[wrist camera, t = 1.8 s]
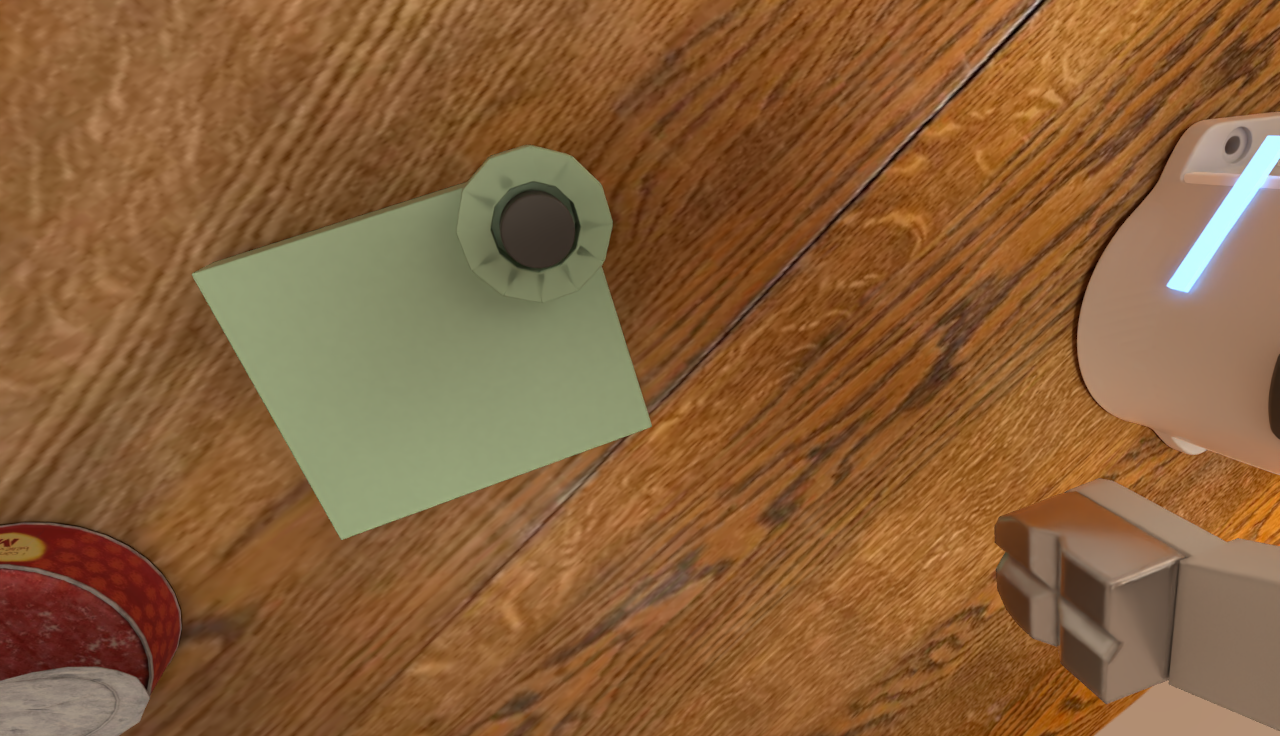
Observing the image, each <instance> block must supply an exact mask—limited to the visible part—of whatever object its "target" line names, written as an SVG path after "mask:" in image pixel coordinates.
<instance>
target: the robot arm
mask: <svg viewBox="0 0 1280 736" xmlns="http://www.w3.org/2000/svg"><path fill="white" fill-rule="evenodd" d="M1077 353H1078V361H1079V366H1080V371H1081V374H1082V377H1083V380H1084V382H1085V384H1086V387H1087V388H1088V390H1089V392H1090V394H1091V395H1092V397H1093V398H1094V399H1095V400H1096V402H1097V403H1098V404H1099V405H1100V406H1101V407H1102V408H1103V409H1105V410H1106V411H1107V412H1109V413H1110V414H1112V415H1114V416H1115V417H1118V418H1120V419H1122V420H1125V421H1128V422H1132V423H1136V424H1140V425H1143V426H1147V427H1149V428H1151V429H1153V430H1154V431H1155V433H1156V434H1157V435H1158V436H1159V437H1160V438H1161V440H1162V441H1163V442H1164V443H1165V444H1166V445H1168V446H1169V447H1170V448H1172V449H1175V450H1178V451H1181V452H1183V453H1186V454H1189V455H1197V454H1200V453H1202V452H1204V451H1206V450H1210V451H1212V452H1215V453H1218V454H1221V455H1224V456H1227V457H1229V458H1232V459H1235V460H1238V461H1241V462H1243V463H1246V464H1249V465H1252V466H1255V467H1257V468H1260V469H1263V470H1266V471H1269V472H1272V473H1275V474H1278V475H1280V111H1278V112H1269V113H1260V114H1251V115H1243V116H1234V117H1225V118H1216V119H1208V120H1202V121H1199V122H1197V123H1195V124H1193V125H1192V126H1190V127H1189V128H1188V129H1187V130H1186V131H1185V133H1184V134H1183V135H1182V137H1181V138H1180V140H1179V141H1178V143H1177V145H1176V146H1175V148H1174V150H1173V152H1172V154H1171V156H1170V158H1169V160H1168V162H1167V164H1166V166H1165V168H1164V170H1163V172H1162V174H1161V176H1160V179H1159V181H1158V183H1157V184H1156V185H1155V187H1154V188H1153V190H1152V191H1151V192H1150V193H1149V195H1148V196H1147V197H1146V198H1145V199H1144V200H1143V202H1142V203H1141V204H1140V205H1139V206H1138V207H1137V208H1136V209H1135V210H1134V212H1133V213H1132V214H1131V215H1130V216H1129V217H1128V218H1127V219H1126V221H1125V222H1124V223H1123V224H1122V226H1121V227H1120V228H1119V229H1118V231H1117V232H1116V234H1115V235H1114V236H1113V238H1112V239H1111V241H1110V242H1109V244H1108V245H1107V247H1106V249H1105V250H1104V252H1103V254H1102V255H1101V257H1100V259H1099V261H1098V263H1097V265H1096V267H1095V269H1094V271H1093V274H1092V276H1091V278H1090V281H1089V283H1088V286H1087V289H1086V292H1085V295H1084V298H1083V302H1082V306H1081V310H1080V315H1079V322H1078V330H1077ZM995 543H996V544H997V545H998V546H999V547H1000V548H1001V549H1003V550H1004V551H1005V554H1004V555H1003V557H1002V559H1001V561H1000V563H999V565H998V566H997V568H996V578H997V589H998V592H999V594H1000V596H1001V599H1002V601H1003V603H1004V605H1005V607H1006V610H1007V611H1008V612H1009V614H1010V615H1011V616H1012V618H1013V619H1014V620H1015V622H1016V623H1017V624H1018V625H1019V626H1020V627H1021V628H1022V629H1023V630H1024V631H1025V632H1026V633H1027V634H1029V635H1030V636H1031V637H1032V638H1033V639H1036V640H1039V641H1042V642H1045V643H1048V644H1051V645H1054V646H1057V648H1058V653H1059V658H1060V662H1061V664H1062V665H1063V666H1064V667H1065V668H1066V669H1067V670H1068V671H1070V672H1071V673H1072V674H1073V675H1074V676H1075V677H1076V678H1077V679H1079V680H1080V681H1081V682H1082V683H1083V684H1084V685H1085V686H1086V687H1088V688H1089V689H1090V690H1091V691H1092V692H1093V693H1094V694H1095V695H1097V696H1098V697H1099V698H1100V699H1101V700H1102V701H1103V702H1104V703H1106V704H1108V703H1110V702H1113V701H1115V700H1118V699H1121V698H1123V697H1126V696H1128V695H1131V694H1134V693H1136V692H1139V691H1141V690H1144V689H1146V688H1149V687H1152V686H1154V685H1157V684H1159V683H1162V682H1165V681H1167V680H1169V684H1170V685H1172V686H1174V687H1176V688H1179V689H1181V690H1184V691H1186V692H1188V693H1191V694H1193V695H1195V696H1198V697H1200V698H1203V699H1205V700H1207V701H1210V702H1212V703H1214V704H1217V705H1219V706H1221V707H1224V708H1226V709H1229V710H1231V711H1233V712H1236V713H1238V714H1241V715H1243V716H1245V717H1248V718H1250V719H1253V720H1255V721H1257V722H1259V723H1262V724H1264V725H1267V726H1269V727H1271V728H1274V729H1276V730H1278V731H1280V546H1275V545H1270V544H1265V543H1259V542H1254V541H1249V540H1244V539H1239V538H1237V539H1235V540H1232V541H1229V542H1226V541H1224V540H1222V539H1220V538H1218V537H1216V536H1214V535H1213V534H1211V533H1209V532H1207V531H1205V530H1203V529H1201V528H1200V527H1198V526H1196V525H1194V524H1192V523H1190V522H1189V521H1187V520H1185V519H1183V518H1181V517H1179V516H1177V515H1176V514H1174V513H1172V512H1170V511H1168V510H1166V509H1164V508H1163V507H1161V506H1159V505H1157V504H1155V503H1153V502H1151V501H1150V500H1148V499H1146V498H1144V497H1142V496H1140V495H1138V494H1137V493H1135V492H1133V491H1131V490H1129V489H1127V488H1125V487H1124V486H1122V485H1120V484H1118V483H1116V482H1114V481H1111V480H1106V479H1100V478H1099V479H1096V480H1093V481H1091V482H1088V483H1086V484H1083V485H1081V486H1078V487H1075V488H1073V489H1070V490H1068V491H1066V492H1065V493H1061V494H1058V495H1055V496H1053V497H1050V498H1047V499H1045V500H1042V501H1040V502H1037V503H1034V504H1032V505H1029V506H1026V507H1024V508H1021V509H1019V510H1016V511H1013V512H1011V513H1008V514H1006V515H1003V516H1000V517H999V519H998V521H997V523H996V525H995Z"/></svg>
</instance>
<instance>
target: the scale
mask: <svg viewBox="0 0 1280 736" xmlns="http://www.w3.org/2000/svg"><path fill="white" fill-rule="evenodd" d="M531 190H538V191H544V192H547V193H549V194H552V195H553V196H555V197H556V198H557V199H559V200H560V201H561V202H562V203H563V204H564V205H565V206H566V208H567V209H568V210H569V212H570V214H571V215H572V218H573V221H574V225H575V239H574V243H573V245H572V248H571V250H570V251H569V253H568V254H567V255H566V257H565V258H564V259H563V260H561V261H560V262H559V263H557V264H555V265H553V266H550V267H547V268H530V267H526V266H524V265H522V264H520V263H518V262H517V261H515V260H514V259H513V258H512V257H511V256H510V255H509V254H508V253H507V251H506V249H505V248H504V245H503V243H502V240H501V235H500V225H499V224H500V217H501V214H502V211H503V209H504V207H505V206H506V204H507V203H508V202H509V201H510V200H511V199H512V198H513V197H515V196H516V195H518V194H520V193H522V192H526V191H531ZM612 227H613V221H612V217H611V214H610V211H609V207H608V204H607V201H606V197H605V194H604V191H603V187H602V185H601V183H600V182H599V181H598V180H597V179H595V178H594V177H593V176H592V175H591V174H590V173H589V172H588V171H587V170H586V169H585V168H584V167H583V166H582V165H581V164H580V163H579V162H578V161H577V160H576V159H575V158H574V157H573V156H570V155H569V154H566V153H562V152H558V151H554V150H550V149H546V148H542V147H538V146H534V145H523V146H520V147H517V148H514V149H511V150H507V151H504V152H501V153H498V154H495V155H491V156H490V157H488V158H487V159H486V160H485V162H484V163H483V164H482V165H481V166H480V168H479V169H478V170H477V171H476V172H475V173H474V175H473V176H472V177H471V178H470V179H469V180H468V182H465V183H462V184H458V185H455V186H452V187H449V188H446V189H443V190H440V191H436V192H433V193H430V194H427V195H424V196H421V197H418V198H414V199H411V200H408V201H405V202H402V203H399V204H396V205H392V206H389V207H386V208H383V209H380V210H377V211H374V212H370V213H367V214H364V215H361V216H358V217H355V218H352V219H348V220H345V221H342V222H339V223H336V224H333V225H330V226H326V227H323V228H320V229H317V230H314V231H311V232H308V233H304V234H301V235H298V236H295V237H292V238H289V239H286V240H282V241H279V242H276V243H273V244H270V245H267V246H264V247H260V248H257V249H254V250H251V251H248V252H245V253H242V254H238V255H235V256H232V257H229V258H226V259H223V260H220V261H216V262H213V263H211V264H209V265H208V266H206V267H204V268H202V269H200V270H198V271H196V272H194V273H193V274H192V276H193V278H194V280H195V282H196V283H197V285H198V287H199V289H200V290H201V292H202V294H203V296H204V298H205V299H206V301H207V303H208V305H209V306H210V308H211V310H212V312H213V314H214V315H215V317H216V319H217V321H218V322H219V324H220V326H221V328H222V329H223V331H224V333H225V335H226V337H227V338H228V340H229V342H230V344H231V345H232V347H233V349H234V351H235V353H236V354H237V356H238V358H239V360H240V361H241V363H242V365H243V367H244V368H245V370H246V372H247V374H248V376H249V377H250V379H251V381H252V383H253V384H254V386H255V388H256V390H257V392H258V393H259V395H260V397H261V399H262V400H263V402H264V404H265V406H266V407H267V409H268V411H269V413H270V415H271V416H272V418H273V420H274V422H275V423H276V425H277V427H278V429H279V431H280V432H281V434H282V436H283V438H284V439H285V441H286V443H287V445H288V447H289V448H290V450H291V452H292V454H293V455H294V457H295V459H296V461H297V462H298V464H299V466H300V468H301V470H302V471H303V473H304V475H305V477H306V478H307V480H308V482H309V484H310V486H311V487H312V489H313V491H314V493H315V494H316V496H317V498H318V500H319V501H320V503H321V505H322V507H323V509H324V510H325V512H326V514H327V516H328V517H329V519H330V521H331V523H332V525H333V526H334V528H335V530H336V532H337V533H338V535H339V537H340V539H341V540H343V539H346V538H348V537H351V536H354V535H357V534H359V533H362V532H365V531H367V530H370V529H373V528H376V527H378V526H381V525H384V524H387V523H389V522H392V521H395V520H398V519H400V518H403V517H406V516H409V515H411V514H414V513H417V512H420V511H422V510H425V509H428V508H431V507H433V506H436V505H439V504H442V503H444V502H447V501H450V500H453V499H455V498H458V497H461V496H463V495H466V494H469V493H472V492H474V491H477V490H480V489H483V488H485V487H488V486H491V485H494V484H496V483H499V482H502V481H505V480H507V479H510V478H513V477H516V476H518V475H521V474H524V473H527V472H529V471H532V470H535V469H538V468H540V467H543V466H546V465H549V464H551V463H554V462H557V461H559V460H562V459H565V458H568V457H570V456H573V455H576V454H579V453H581V452H584V451H587V450H590V449H592V448H595V447H598V446H601V445H603V444H606V443H609V442H612V441H614V440H617V439H620V438H623V437H625V436H628V435H631V434H634V433H636V432H639V431H642V430H645V429H647V428H650V427H652V424H651V421H650V418H649V415H648V412H647V409H646V405H645V402H644V399H643V396H642V393H641V389H640V386H639V383H638V380H637V377H636V374H635V370H634V367H633V364H632V361H631V358H630V354H629V351H628V348H627V345H626V342H625V338H624V335H623V332H622V329H621V326H620V323H619V319H618V316H617V313H616V310H615V307H614V303H613V300H612V297H611V294H610V291H609V288H608V284H607V281H606V278H605V275H604V272H603V268H602V264H603V263H604V261H605V258H606V254H607V249H608V245H609V240H610V236H611V231H612Z"/></svg>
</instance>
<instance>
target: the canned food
mask: <svg viewBox="0 0 1280 736" xmlns="http://www.w3.org/2000/svg"><path fill="white" fill-rule="evenodd" d="M181 630H182V625H181V611H180V607H179V604H178V602H177V599H176V596H175V593H174V591H173V589H172V588H171V586H170V585H169V583H168V582H167V580H166V578H165V577H164V575H163V574H162V573H161V572H160V571H159V570H158V569H157V568H156V567H155V566H154V565H153V564H152V563H151V562H150V561H149V560H148V559H147V558H145V557H144V556H142V555H141V554H139V553H138V552H137V551H135V550H134V549H132V548H131V547H129V546H128V545H126V544H123V543H121V542H119V541H117V540H115V539H113V538H111V537H109V536H107V535H104V534H101V533H98V532H94V531H91V530H88V529H85V528H81V527H76V526H70V525H64V524H57V523H31V522H24V523H17V524H9V525H2V526H0V736H119V735H120V734H122V733H123V732H124V731H126V730H127V729H129V728H131V727H132V726H134V725H135V724H137V723H138V722H140V719H141V717H142V714H143V712H144V709H145V707H146V705H147V703H148V701H149V699H150V695H151V693H152V691H153V689H154V688H155V686H156V684H157V683H158V681H159V679H160V677H161V676H162V674H163V672H164V670H165V669H166V667H167V666H168V664H169V663H170V662H171V660H172V658H173V656H174V654H175V652H176V650H177V648H178V645H179V640H180V635H181Z"/></svg>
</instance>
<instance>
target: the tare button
mask: <svg viewBox="0 0 1280 736" xmlns="http://www.w3.org/2000/svg"><path fill="white" fill-rule="evenodd" d="M499 225H500V235H501V240H502V243H503V245H504V248H505V249H506V251H507V253H508V254H509V255H510V256H511V257H512V258H513V259H514V260H515V261H517V262H518V263H520V264H522V265H524V266H526V267H530V268H547V267H550V266H553V265H555V264H557V263H559V262H560V261H561V260H563V259H564V258H565V257H566V255H567V254H568V253H569V251H570V250H571V248H572V245H573V243H574V239H575V225H574V221H573V218H572V215H571V214H570V212H569V210H568V209H567V208H566V206H565V205H564V204H563V203H562V202H561V201H560V200H559V199H557V198H556V197H555V196H553V195H552V194H549V193H547V192H544V191H538V190H531V191H526V192H522V193H520V194H518V195H516V196H515V197H513V198H512V199H511V200H510V201H509V202H508V203H507V204H506V206H505V207H504V209H503V211H502V214H501V217H500V224H499Z"/></svg>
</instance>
